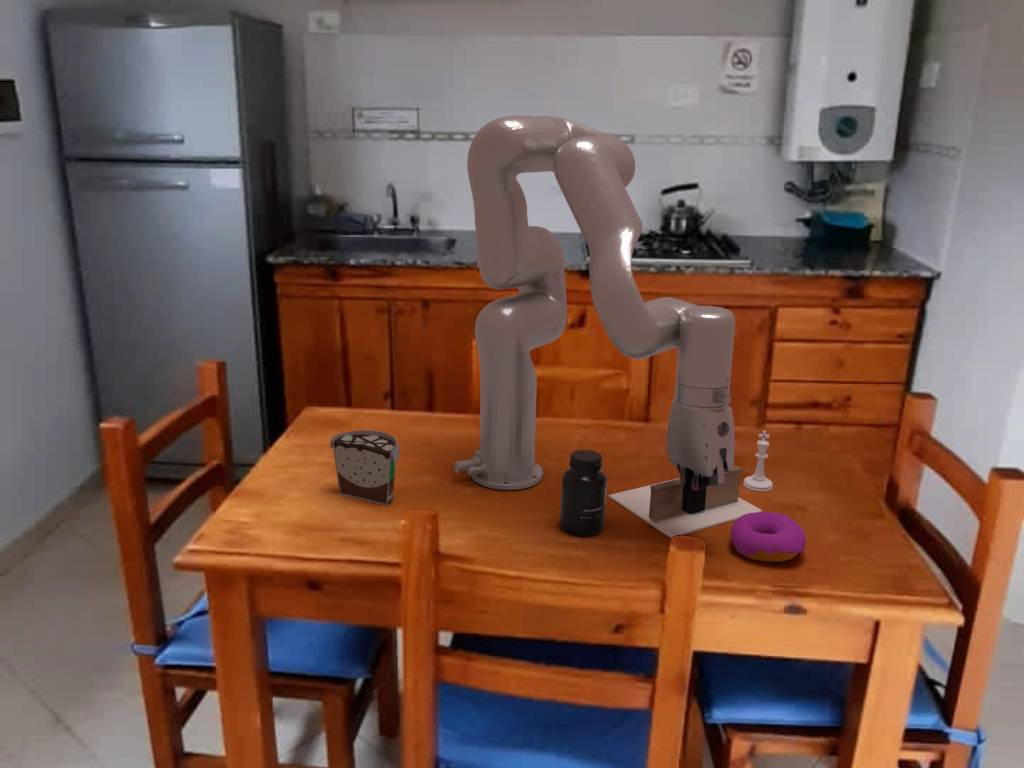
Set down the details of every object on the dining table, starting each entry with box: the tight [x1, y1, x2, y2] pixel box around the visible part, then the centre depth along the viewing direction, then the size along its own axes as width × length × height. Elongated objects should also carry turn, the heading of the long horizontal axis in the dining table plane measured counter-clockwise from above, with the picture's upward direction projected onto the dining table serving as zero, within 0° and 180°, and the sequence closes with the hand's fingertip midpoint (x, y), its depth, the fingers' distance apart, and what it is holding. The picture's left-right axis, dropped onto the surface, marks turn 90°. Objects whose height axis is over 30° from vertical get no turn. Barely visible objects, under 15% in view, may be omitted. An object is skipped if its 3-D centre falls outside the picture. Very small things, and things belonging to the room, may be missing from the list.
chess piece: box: [742, 430, 774, 492], centre depth 144 cm, size 5×5×10 cm
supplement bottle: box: [559, 449, 608, 538], centre depth 128 cm, size 7×7×12 cm
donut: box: [730, 511, 807, 563], centre depth 124 cm, size 11×10×5 cm
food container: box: [329, 429, 401, 506], centre depth 138 cm, size 12×6×10 cm, turn 65°
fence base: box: [607, 464, 764, 539], centre depth 137 cm, size 19×16×7 cm
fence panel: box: [649, 478, 685, 521], centre depth 132 cm, size 8×2×5 cm, turn 119°
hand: (693, 510), depth 126 cm, fingers closed
